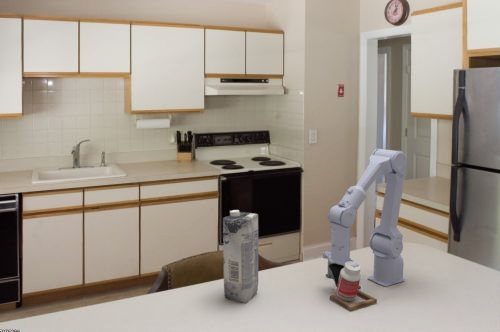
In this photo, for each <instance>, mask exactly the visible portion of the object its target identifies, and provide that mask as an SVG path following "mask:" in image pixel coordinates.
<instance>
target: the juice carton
mask: <svg viewBox="0 0 500 332" xmlns="http://www.w3.org/2000/svg"><path fill="white" fill-rule="evenodd" d="M222 226H223V227H222V230H223V231H222V239H223V241H222V243H223V244H222V245H223V246H222V249H223V290H224V298H225V299H226V300H229V301H235V302H239V303H244V304H245V303H247V302H248V301H249V300H250V299H251V298H253V297H254V296H255V295H256V294H257V292H258V290H259V214H258V213H255V212H254V213H252V212H244V211H240V210H239V209H233V210H229V215H228V216H224V217H223V218H222Z"/></svg>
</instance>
